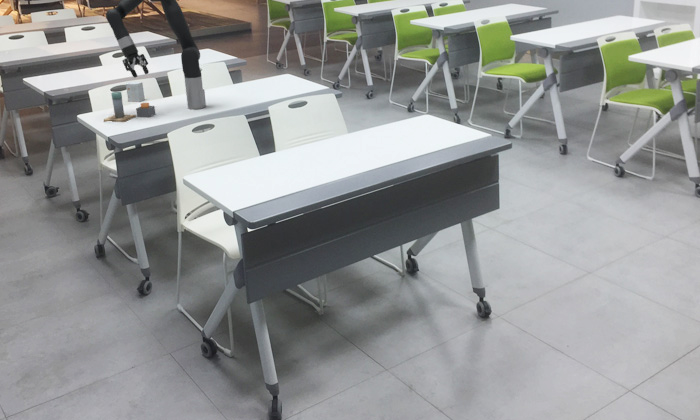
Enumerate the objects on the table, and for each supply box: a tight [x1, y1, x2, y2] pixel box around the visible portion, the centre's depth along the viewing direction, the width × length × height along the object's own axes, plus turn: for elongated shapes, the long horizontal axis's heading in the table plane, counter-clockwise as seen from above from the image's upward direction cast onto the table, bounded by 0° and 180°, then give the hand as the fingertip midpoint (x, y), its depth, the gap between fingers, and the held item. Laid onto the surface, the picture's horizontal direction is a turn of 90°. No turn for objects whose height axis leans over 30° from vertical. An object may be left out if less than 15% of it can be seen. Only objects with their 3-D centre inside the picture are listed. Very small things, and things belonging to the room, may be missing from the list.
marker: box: [111, 91, 125, 118], centre depth 384 cm, size 5×5×13 cm
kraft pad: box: [103, 114, 137, 123], centre depth 387 cm, size 12×12×1 cm
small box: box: [125, 81, 146, 103], centre depth 429 cm, size 8×6×10 cm
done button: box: [140, 102, 150, 108], centre depth 391 cm, size 4×4×3 cm
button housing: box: [136, 105, 156, 118], centre depth 392 cm, size 7×7×4 cm
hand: (141, 75), depth 385 cm, fingers open, 8 cm apart
